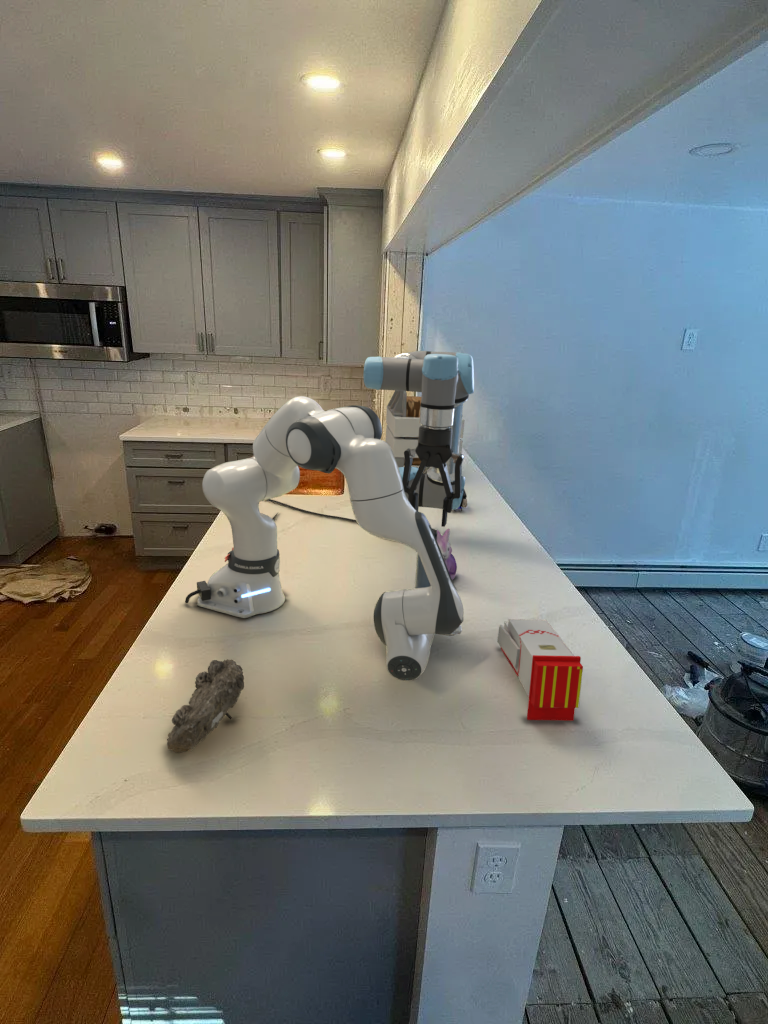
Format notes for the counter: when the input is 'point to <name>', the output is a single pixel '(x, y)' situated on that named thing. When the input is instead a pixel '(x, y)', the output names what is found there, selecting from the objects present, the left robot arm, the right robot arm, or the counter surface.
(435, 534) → the cap
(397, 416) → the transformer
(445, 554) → the figurine
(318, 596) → the counter surface
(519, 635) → the toy
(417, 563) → the bottle
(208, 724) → the fossil
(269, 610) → the left robot arm
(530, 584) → the counter surface
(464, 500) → the figurine character
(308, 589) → the counter surface
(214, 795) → the counter surface
